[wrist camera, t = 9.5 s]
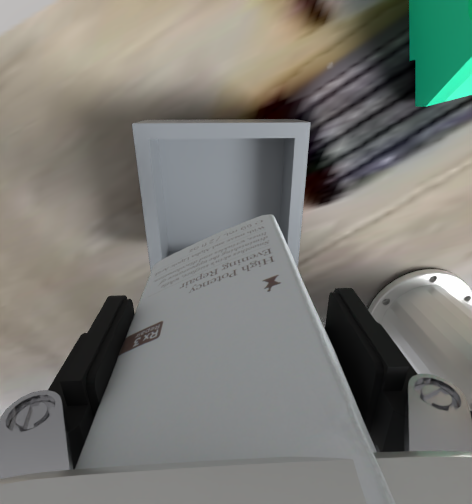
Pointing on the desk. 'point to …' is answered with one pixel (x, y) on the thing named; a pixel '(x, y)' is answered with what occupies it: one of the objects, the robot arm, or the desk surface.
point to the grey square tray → (219, 178)
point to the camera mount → (441, 49)
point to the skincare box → (230, 366)
